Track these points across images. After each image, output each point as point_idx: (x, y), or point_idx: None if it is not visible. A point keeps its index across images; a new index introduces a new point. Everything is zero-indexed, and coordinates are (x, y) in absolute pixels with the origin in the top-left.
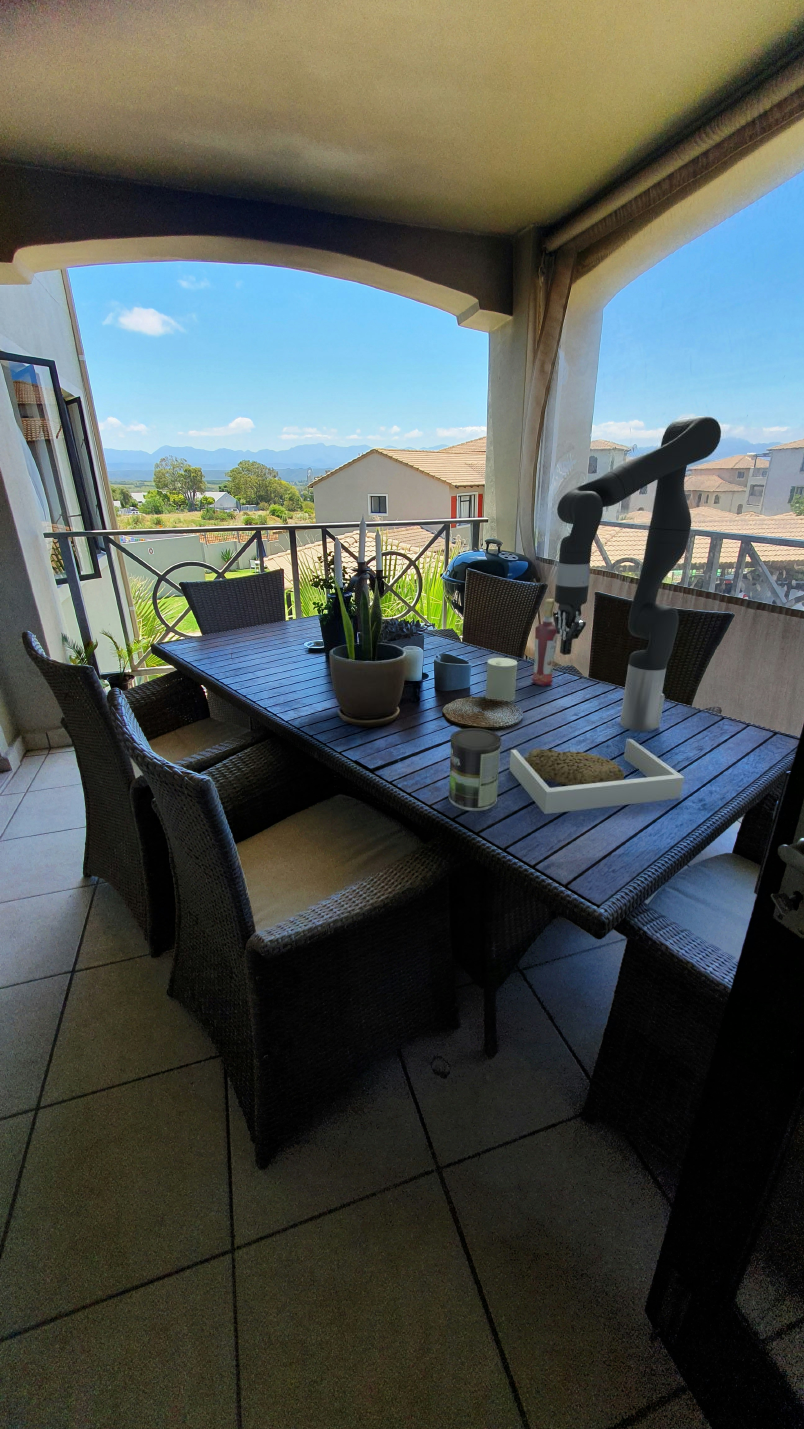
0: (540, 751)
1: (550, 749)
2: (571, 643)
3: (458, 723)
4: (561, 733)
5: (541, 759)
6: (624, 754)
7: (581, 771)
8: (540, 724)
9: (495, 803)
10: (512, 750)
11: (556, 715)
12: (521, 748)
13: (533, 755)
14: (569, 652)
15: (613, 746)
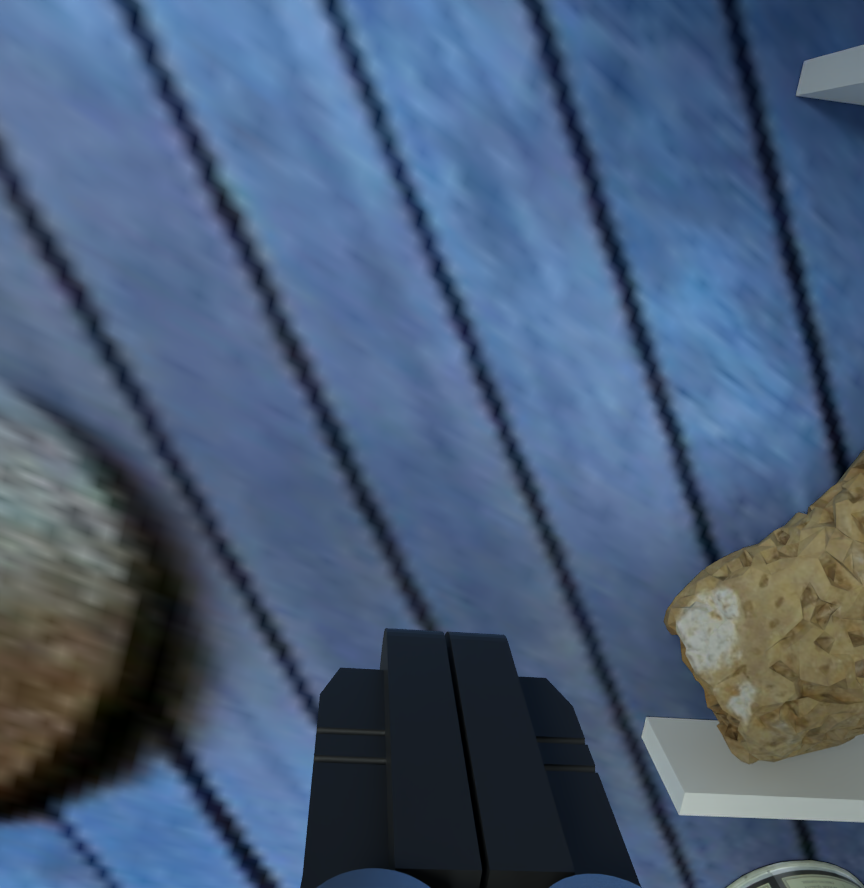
0: (807, 729)
1: (829, 685)
2: (619, 845)
3: (34, 775)
4: (335, 265)
5: (848, 736)
6: (809, 92)
7: None
8: (153, 322)
9: (858, 880)
10: (686, 810)
11: (4, 106)
12: (456, 595)
13: (791, 751)
14: (544, 700)
15: (634, 39)
